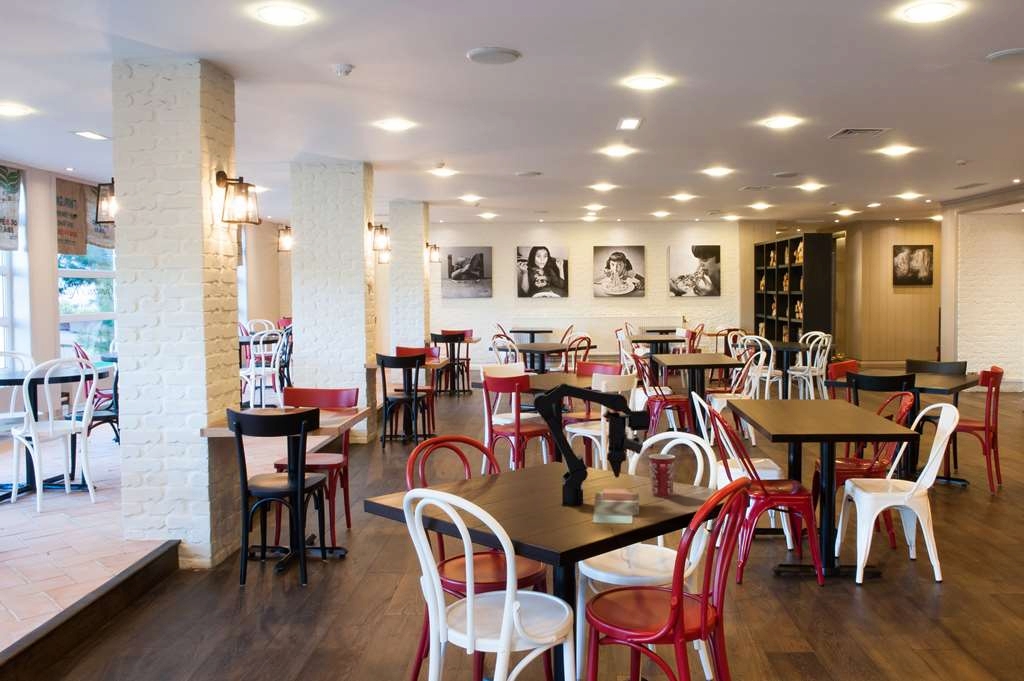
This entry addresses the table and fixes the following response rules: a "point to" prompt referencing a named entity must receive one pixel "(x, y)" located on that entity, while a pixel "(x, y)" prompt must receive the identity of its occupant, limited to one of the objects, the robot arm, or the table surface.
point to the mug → (662, 474)
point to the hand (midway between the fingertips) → (617, 477)
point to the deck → (616, 505)
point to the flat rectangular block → (617, 494)
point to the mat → (613, 518)
